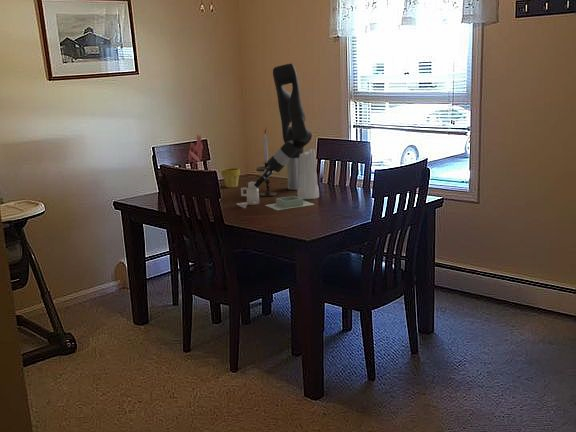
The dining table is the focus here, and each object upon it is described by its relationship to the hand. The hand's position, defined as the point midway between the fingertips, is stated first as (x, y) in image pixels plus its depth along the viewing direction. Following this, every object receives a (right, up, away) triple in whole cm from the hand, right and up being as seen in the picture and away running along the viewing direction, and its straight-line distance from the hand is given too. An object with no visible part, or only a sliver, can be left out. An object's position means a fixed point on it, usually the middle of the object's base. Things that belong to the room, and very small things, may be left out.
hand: (256, 184), depth 329 cm
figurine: (-26, -10, +6) cm, 29 cm away
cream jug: (-3, -9, +2) cm, 10 cm away
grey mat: (-2, -10, +2) cm, 10 cm away
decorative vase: (+25, -7, +12) cm, 29 cm away
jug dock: (+16, -11, -5) cm, 20 cm away
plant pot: (-16, +1, +53) cm, 56 cm away
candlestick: (+5, -5, +24) cm, 25 cm away
